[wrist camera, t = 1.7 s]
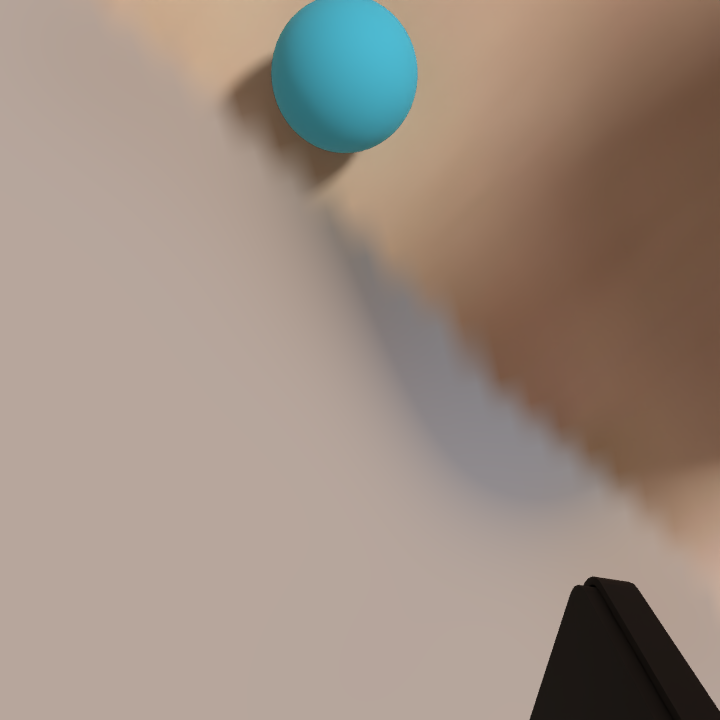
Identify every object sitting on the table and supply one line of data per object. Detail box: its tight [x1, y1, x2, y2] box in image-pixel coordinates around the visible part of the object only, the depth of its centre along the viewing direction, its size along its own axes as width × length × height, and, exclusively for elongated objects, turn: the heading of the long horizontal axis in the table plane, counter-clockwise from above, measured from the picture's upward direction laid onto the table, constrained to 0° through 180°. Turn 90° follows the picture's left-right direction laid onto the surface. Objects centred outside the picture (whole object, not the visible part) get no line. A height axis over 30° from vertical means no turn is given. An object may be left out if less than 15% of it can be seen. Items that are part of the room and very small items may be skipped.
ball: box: [271, 0, 417, 153], centre depth 23 cm, size 5×5×5 cm
